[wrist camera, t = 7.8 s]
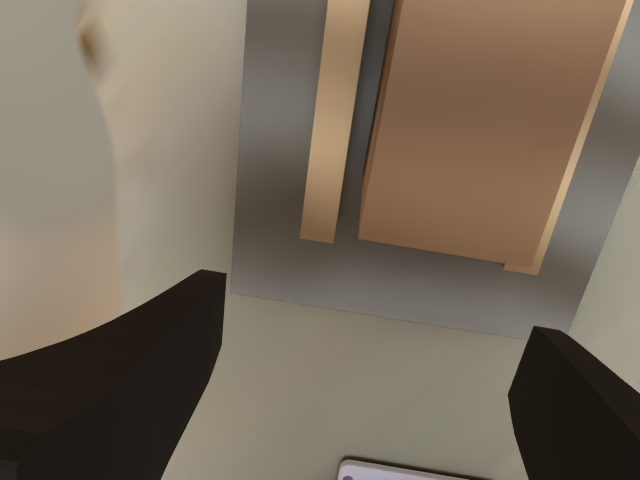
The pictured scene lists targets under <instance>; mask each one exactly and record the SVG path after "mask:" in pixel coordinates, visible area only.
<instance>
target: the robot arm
mask: <svg viewBox="0 0 640 480" xmlns="http://www.w3.org/2000/svg"><path fill="white" fill-rule="evenodd" d="M226 275H227V274H226V273H221V272H215V271H209V270H203V269H201V270H199V271H197V272H195V273H194V274H192V275H190V276H189V277H187V278H186V279H184V280H182V281H181V282H179V283H178V284H176V285H174V286H173V287H171V288H170V289H168V290H166V291H164V292H163V293H161V294H159V295H158V296H156V297H154V298H153V299H151V300H149V301H148V302H146V303H144V304H142V305H140V306H138V307H137V308H135V309H133V310H131V311H129V312H127V313H125V314H123V315H121V316H119V317H117V318H116V319H114V320H112V321H110V322H108V323H105V324H103V325H101V326H99V327H97V328H94V329H92V330H90V331H87V332H85V333H82V334H80V335H78V336H75V337H73V338H70V339H67V340H65V341H62V342H59V343H56V344H53V345H50V346H47V347H44V348H41V349H38V350H35V351H32V352H29V353H26V354H23V355H20V356H16V357H13V358H9V359H6V360H1V361H0V480H161V478H162V475H163V473H164V471H165V469H166V467H167V464H168V462H169V460H170V458H171V456H172V454H173V452H174V450H175V448H176V446H177V444H178V442H179V440H180V438H181V436H182V434H183V432H184V430H185V428H186V426H187V424H188V422H189V420H190V418H191V416H192V414H193V412H194V410H195V408H196V406H197V404H198V402H199V400H200V398H201V396H202V394H203V392H204V390H205V388H206V386H207V384H208V382H209V380H210V377H211V374H212V372H213V369H214V366H215V363H216V360H217V357H218V354H219V351H220V348H221V345H222V333H223V318H224V304H225V290H226ZM508 399H509V405H510V412H511V418H512V423H513V429H514V434H515V437H516V441H517V444H518V447H519V450H520V453H521V457H522V460H523V463H524V466H525V469H526V472H527V475H528V478H529V480H640V393H638V392H637V391H636V390H635V389H633V388H632V387H631V386H630V385H628V384H627V383H626V382H625V381H623V380H622V379H621V378H620V377H619V376H617V375H616V374H615V373H614V372H613V371H611V370H610V369H609V368H608V367H607V366H605V365H604V364H603V363H602V362H601V361H599V360H598V359H597V358H596V357H595V356H593V355H592V354H591V353H590V352H589V351H587V350H586V349H585V348H584V347H582V346H581V345H580V344H579V343H577V342H576V341H575V340H574V339H572V338H571V337H570V336H568V335H567V334H565V333H564V332H562V331H561V330H557V329H551V328H545V327H539V326H533V328H532V331H531V334H530V337H529V339H528V342H527V345H526V347H525V350H524V353H523V355H522V358H521V361H520V363H519V366H518V369H517V371H516V374H515V377H514V379H513V382H512V385H511V387H510V390H509V393H508ZM347 476H351V477H347ZM337 480H468V479H462V478H456V477H451V476H445V475H439V474H433V473H427V472H421V471H415V470H409V469H403V468H397V467H391V466H385V465H379V464H373V463H367V462H361V461H356V460H345V461H343V462H341V464H340V468H339V473H338V478H337Z"/></svg>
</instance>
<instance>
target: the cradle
mask: <svg viewBox="0 0 640 480" xmlns="http://www.w3.org/2000/svg"><path fill="white" fill-rule="evenodd" d="M393 3H394V0H248V2H247V19H246V36H245V53H244V70H243V87H242V104H241V121H240V138H239V155H238V172H237V189H236V206H235V223H234V240H233V256H232V273H231V290H230V293H233V294H240V295H246V296H252V297H258V298H265V299H271V300H277V301H284V302H290V303H296V304H302V305H309V306H315V307H321V308H328V309H334V310H340V311H346V312H353V313H359V314H365V315H372V316H378V317H384V318H390V319H397V320H403V321H409V322H416V323H422V324H428V325H434V326H441V327H447V328H453V329H460V330H466V331H472V332H478V333H485V334H491V335H497V336H504V337H510V338H516V339H522V340H528V339H529V337H530V334H531V331H532V328H533V326H539V327H545V328H551V329H557V330H561V331H562V332H564V333H565V334H567V333H568V331H569V328H570V326H571V324H572V321H573V319H574V316H575V314H576V311H577V309H578V306H579V304H580V301H581V299H582V296H583V294H584V291H585V289H586V286H587V284H588V281H589V279H590V276H591V274H592V271H593V269H594V266H595V264H596V261H597V259H598V256H599V254H600V251H601V249H602V246H603V244H604V241H605V239H606V236H607V234H608V231H609V229H610V226H611V224H612V221H613V219H614V216H615V214H616V212H617V209H618V207H619V204H620V202H621V199H622V197H623V194H624V192H625V189H626V187H627V184H628V182H629V179H630V177H631V174H632V172H633V169H634V167H635V164H636V162H637V159H638V157H639V154H640V0H626V3H625V6H624V9H623V11H622V14H621V17H620V20H619V23H618V25H617V28H616V31H615V34H614V37H613V39H612V42H611V45H610V48H609V51H608V53H607V56H606V59H605V62H604V65H603V67H602V70H601V73H600V76H599V79H598V81H597V84H596V87H595V90H594V93H593V95H592V98H591V101H590V104H589V107H588V109H587V112H586V115H585V118H584V121H583V123H582V126H581V129H580V132H579V134H578V137H577V140H576V143H575V146H574V148H573V151H572V154H571V157H570V160H569V162H568V165H567V168H566V171H565V174H564V176H563V179H562V182H561V185H560V188H559V190H558V193H557V196H556V199H555V202H554V204H553V207H552V210H551V213H550V216H549V218H548V221H547V224H546V227H545V230H544V232H543V235H542V238H541V241H540V244H539V246H538V249H537V252H536V255H535V258H534V260H533V263H532V266H531V267H525V266H519V265H513V264H507V263H501V262H495V261H489V260H483V259H476V258H470V257H464V256H458V255H452V254H446V253H440V252H434V251H428V250H422V249H416V248H410V247H404V246H398V245H392V244H386V243H380V242H374V241H368V240H362V239H358V237H359V222H360V208H361V194H362V180H363V168H364V163H365V157H366V152H367V146H368V141H369V135H370V130H371V124H372V119H373V113H374V108H375V102H376V97H377V91H378V86H379V80H380V75H381V69H382V64H383V58H384V53H385V47H386V42H387V36H388V31H389V25H390V20H391V14H392V9H393Z"/></svg>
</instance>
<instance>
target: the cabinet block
mask: <svg viewBox="0 0 640 480" xmlns="http://www.w3.org/2000/svg"><path fill="white" fill-rule="evenodd" d="M625 3H626V0H394V3H393V9H392V14H391V20H390V25H389V31H388V36H387V42H386V47H385V53H384V58H383V64H382V69H381V75H380V80H379V86H378V91H377V97H376V102H375V108H374V113H373V119H372V124H371V130H370V135H369V141H368V146H367V152H366V157H365V163H364V168H363V180H362V194H361V208H360V222H359V237H358V239H362V240H368V241H374V242H380V243H386V244H392V245H398V246H404V247H410V248H416V249H422V250H428V251H434V252H440V253H446V254H452V255H458V256H464V257H470V258H476V259H483V260H489V261H495V262H501V263H507V264H513V265H519V266H525V267H531V266H532V263H533V260H534V258H535V255H536V252H537V249H538V246H539V244H540V241H541V238H542V235H543V232H544V230H545V227H546V224H547V221H548V218H549V216H550V213H551V210H552V207H553V204H554V202H555V199H556V196H557V193H558V190H559V188H560V185H561V182H562V179H563V176H564V174H565V171H566V168H567V165H568V162H569V160H570V157H571V154H572V151H573V148H574V146H575V143H576V140H577V137H578V134H579V132H580V129H581V126H582V123H583V121H584V118H585V115H586V112H587V109H588V107H589V104H590V101H591V98H592V95H593V93H594V90H595V87H596V84H597V81H598V79H599V76H600V73H601V70H602V67H603V65H604V62H605V59H606V56H607V53H608V51H609V48H610V45H611V42H612V39H613V37H614V34H615V31H616V28H617V25H618V23H619V20H620V17H621V14H622V11H623V9H624V6H625Z"/></svg>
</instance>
